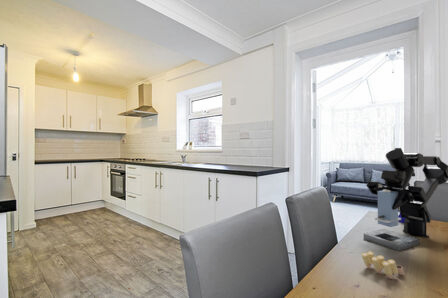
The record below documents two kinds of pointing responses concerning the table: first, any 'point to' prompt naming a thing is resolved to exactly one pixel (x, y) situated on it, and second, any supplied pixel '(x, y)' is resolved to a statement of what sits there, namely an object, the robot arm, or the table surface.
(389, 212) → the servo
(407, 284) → the table surface
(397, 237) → the plate
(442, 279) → the table surface
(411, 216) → the robot arm
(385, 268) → the ammunition
